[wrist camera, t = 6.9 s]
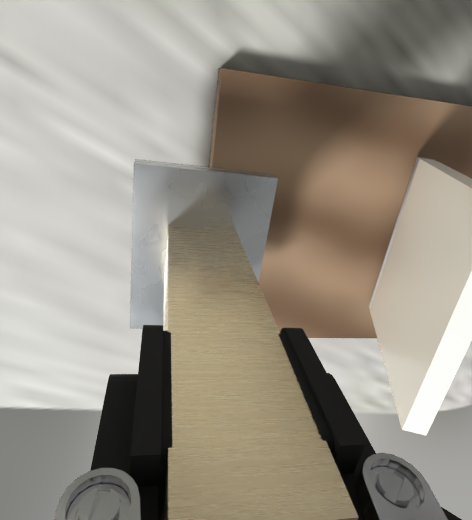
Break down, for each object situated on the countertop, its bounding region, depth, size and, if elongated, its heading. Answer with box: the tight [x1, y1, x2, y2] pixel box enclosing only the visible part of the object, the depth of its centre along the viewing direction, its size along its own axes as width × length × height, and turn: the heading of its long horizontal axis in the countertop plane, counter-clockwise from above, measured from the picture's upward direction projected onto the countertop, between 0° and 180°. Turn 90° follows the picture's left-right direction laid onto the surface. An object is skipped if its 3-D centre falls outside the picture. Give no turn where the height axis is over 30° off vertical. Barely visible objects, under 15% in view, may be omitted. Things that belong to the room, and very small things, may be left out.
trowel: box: [130, 159, 359, 520], centre depth 12 cm, size 8×6×13 cm
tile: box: [369, 157, 472, 435], centre depth 19 cm, size 10×11×1 cm
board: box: [209, 68, 472, 338], centre depth 25 cm, size 16×24×2 cm, turn 82°
